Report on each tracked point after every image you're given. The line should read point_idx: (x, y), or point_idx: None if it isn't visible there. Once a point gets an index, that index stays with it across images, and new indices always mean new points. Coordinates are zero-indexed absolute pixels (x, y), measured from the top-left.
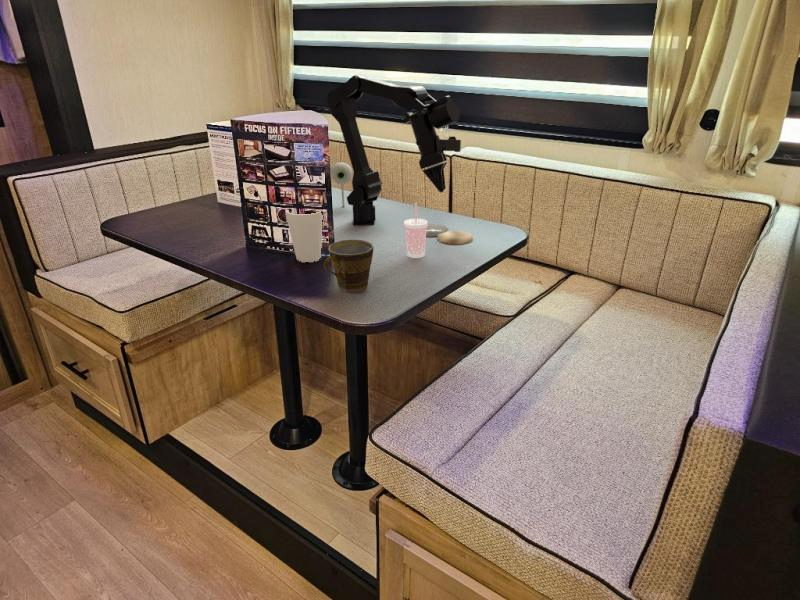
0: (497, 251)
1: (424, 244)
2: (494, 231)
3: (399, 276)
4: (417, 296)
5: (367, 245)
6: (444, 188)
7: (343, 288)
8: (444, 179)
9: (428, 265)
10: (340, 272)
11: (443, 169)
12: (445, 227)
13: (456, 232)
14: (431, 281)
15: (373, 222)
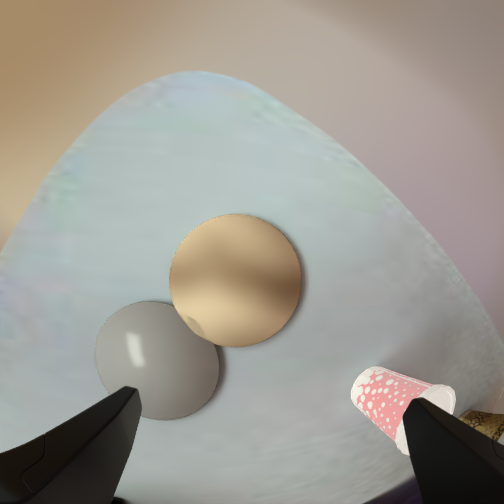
0: (348, 162)
1: (402, 374)
2: (163, 133)
3: (449, 384)
4: (491, 337)
5: (495, 437)
6: (137, 396)
7: None
8: (92, 434)
9: (424, 345)
10: None
11: (25, 500)
12: (129, 311)
13: (189, 272)
14: (469, 325)
15: (118, 501)
